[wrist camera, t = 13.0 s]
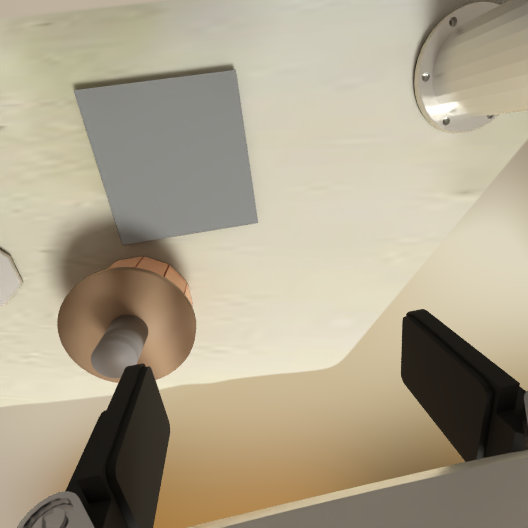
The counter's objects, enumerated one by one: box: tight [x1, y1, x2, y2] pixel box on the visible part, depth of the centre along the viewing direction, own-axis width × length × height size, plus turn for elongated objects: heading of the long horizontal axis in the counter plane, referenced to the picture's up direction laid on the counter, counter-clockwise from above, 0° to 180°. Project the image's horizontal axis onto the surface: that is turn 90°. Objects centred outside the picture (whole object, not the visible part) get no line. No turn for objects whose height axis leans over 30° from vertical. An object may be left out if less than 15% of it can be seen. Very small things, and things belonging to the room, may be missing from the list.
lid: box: [58, 267, 196, 383], centre depth 31 cm, size 14×14×6 cm
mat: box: [74, 70, 258, 245], centre depth 34 cm, size 16×16×1 cm
